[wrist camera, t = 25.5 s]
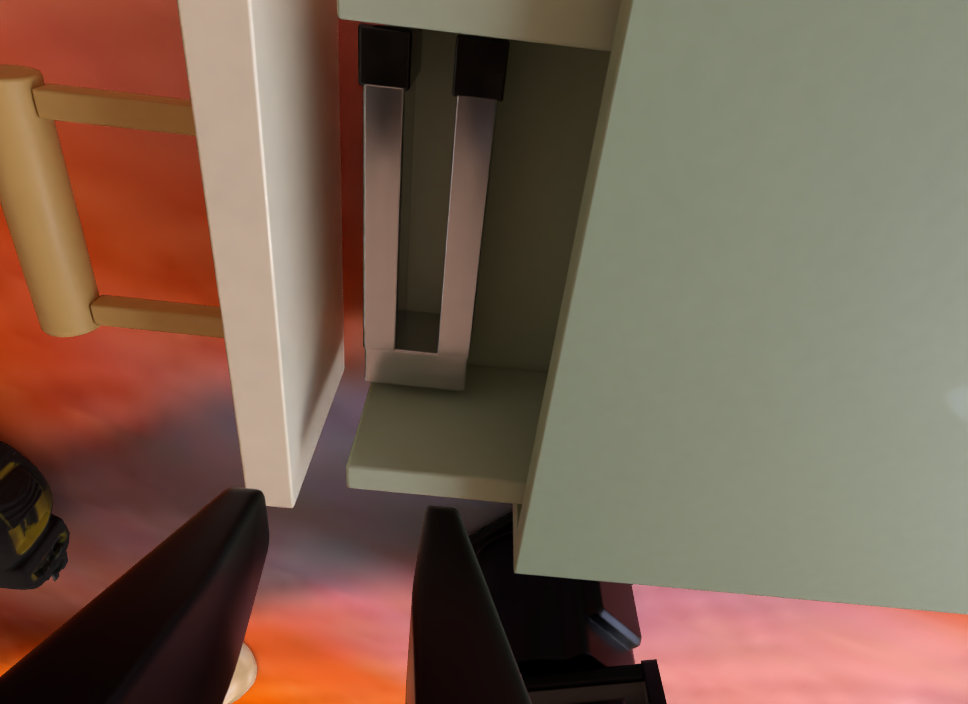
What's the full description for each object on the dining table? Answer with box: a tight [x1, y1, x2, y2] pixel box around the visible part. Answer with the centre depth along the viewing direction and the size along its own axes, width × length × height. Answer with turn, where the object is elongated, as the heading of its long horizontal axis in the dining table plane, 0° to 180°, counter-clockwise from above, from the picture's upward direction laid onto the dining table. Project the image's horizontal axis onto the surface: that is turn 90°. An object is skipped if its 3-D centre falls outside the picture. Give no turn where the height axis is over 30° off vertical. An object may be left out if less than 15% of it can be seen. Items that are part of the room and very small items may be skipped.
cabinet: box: [513, 0, 968, 614], centre depth 16 cm, size 15×14×8 cm
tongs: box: [358, 22, 510, 391], centre depth 16 cm, size 9×3×2 cm, turn 174°
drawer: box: [0, 0, 621, 508], centre depth 16 cm, size 19×13×6 cm
